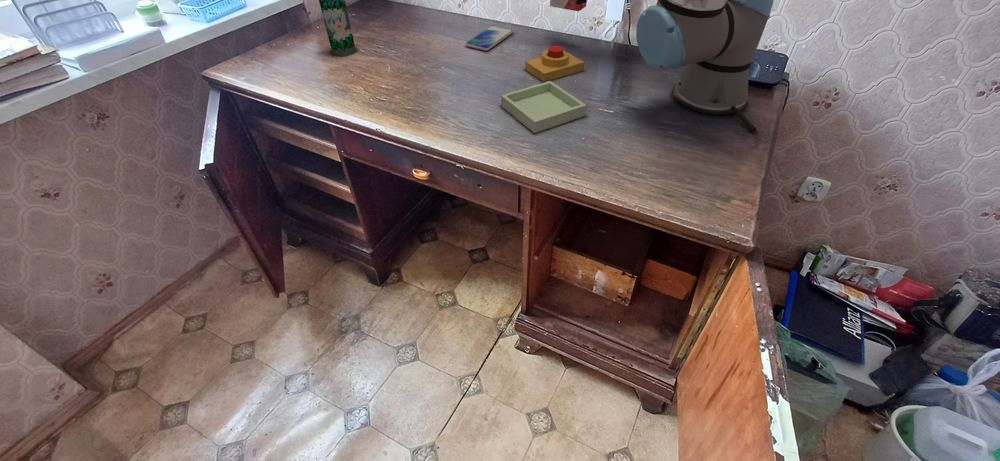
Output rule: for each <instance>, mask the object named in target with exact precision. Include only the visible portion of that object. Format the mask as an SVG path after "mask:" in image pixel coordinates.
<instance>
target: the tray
mask: <svg viewBox="0 0 1000 461" xmlns="http://www.w3.org/2000/svg"><path fill="white" fill-rule="evenodd" d="M500 107H502V108H503V109H504V110H505V111H506V112H507V113H509V114H510V115H512V116H513V117H514V118H515V119H516V120H517V121H519V122H520V123H521V124H523V126H524V127H526V128H527V129H528V130H530V131H531V132H532V133H534V134H536V133H539V132H542V131H545V130H548V129H551V128H554V127H557V126H560V125H562V124H566V123H568V122H571V121H575V120H577V119H580V118H584V117H586V111H587V104H586V103H584V102H583V101H582V100H580V99H579V98H577V97H575V96H573V95H572V94H571V93H569V92H568V91H567V90H565V89H563V88H562V87H560V86H559V85H557V84H556V83H554V82H553V81H552V80H549V81H546V82H542V83H539V84H535V85H532V86H528V87H525V88H521V89H519V90H514V91H511V92H507V93H504V94H501V95H500Z"/></svg>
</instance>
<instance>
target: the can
mask: <svg viewBox="0 0 1000 461" xmlns="http://www.w3.org/2000/svg"><path fill="white" fill-rule="evenodd" d="M318 3H319V7H320V10H321V15H322V18H323V22H324V26H325V30H326V33H327V38H328V41H329V45H330V50H331V53H332V55H334V56H338V57H340V56H341V57H345V56H349V55H352V54H354V53H356V51H357V49H356V45H355V39H354V35H353V30H352V27H351V22H350V16H349V12H348V8H347V4H346V0H318Z"/></svg>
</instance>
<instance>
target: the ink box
mask: <svg viewBox="0 0 1000 461" xmlns="http://www.w3.org/2000/svg"><path fill="white" fill-rule="evenodd" d="M549 6H550V7H551V8H552V7H553V8H557V9H562V10H568V11H574V12H580V11H582V10H583V9H585V8H586V7H587V3H583V4H576V0H549Z"/></svg>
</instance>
